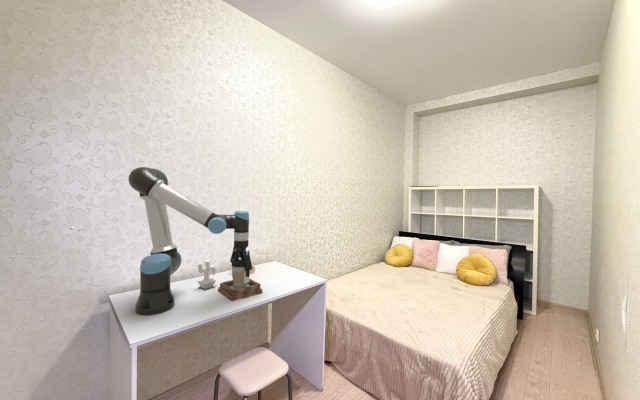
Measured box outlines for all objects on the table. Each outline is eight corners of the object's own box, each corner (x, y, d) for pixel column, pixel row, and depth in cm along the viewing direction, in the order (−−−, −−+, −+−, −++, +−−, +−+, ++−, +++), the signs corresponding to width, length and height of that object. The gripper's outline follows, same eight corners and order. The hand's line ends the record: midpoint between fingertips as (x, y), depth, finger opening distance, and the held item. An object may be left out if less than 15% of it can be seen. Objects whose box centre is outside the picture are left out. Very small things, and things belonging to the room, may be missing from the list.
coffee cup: (252, 287, 142) (252, 259, 142) (239, 292, 135) (239, 263, 134) (240, 283, 147) (241, 257, 147) (227, 288, 140) (228, 260, 139)
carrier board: (232, 301, 129) (232, 292, 129) (218, 291, 141) (218, 282, 141) (262, 292, 141) (262, 284, 141) (246, 284, 153) (246, 276, 153)
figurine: (217, 286, 148) (218, 260, 148) (202, 291, 141) (202, 263, 140) (210, 283, 152) (211, 257, 152) (194, 287, 145) (195, 261, 144)
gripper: (259, 242, 134) (258, 283, 135) (237, 235, 152) (236, 272, 153) (246, 244, 129) (245, 287, 129) (224, 237, 147) (223, 274, 147)
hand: (240, 279), depth 141 cm, fingers open, 13 cm apart
